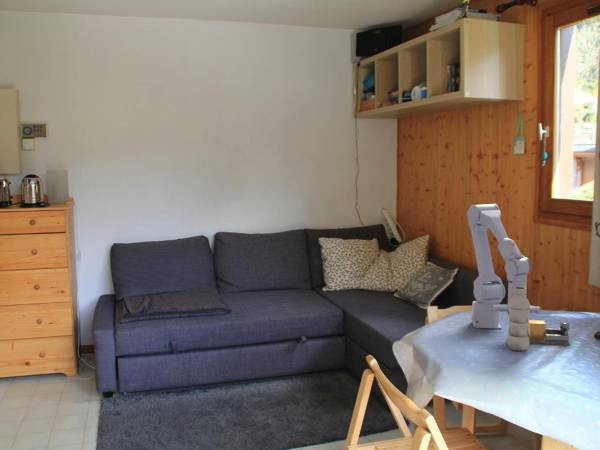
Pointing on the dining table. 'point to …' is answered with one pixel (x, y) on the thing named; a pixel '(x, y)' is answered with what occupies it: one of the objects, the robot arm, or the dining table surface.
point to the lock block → (536, 329)
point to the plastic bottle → (518, 320)
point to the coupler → (554, 336)
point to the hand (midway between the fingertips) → (515, 332)
